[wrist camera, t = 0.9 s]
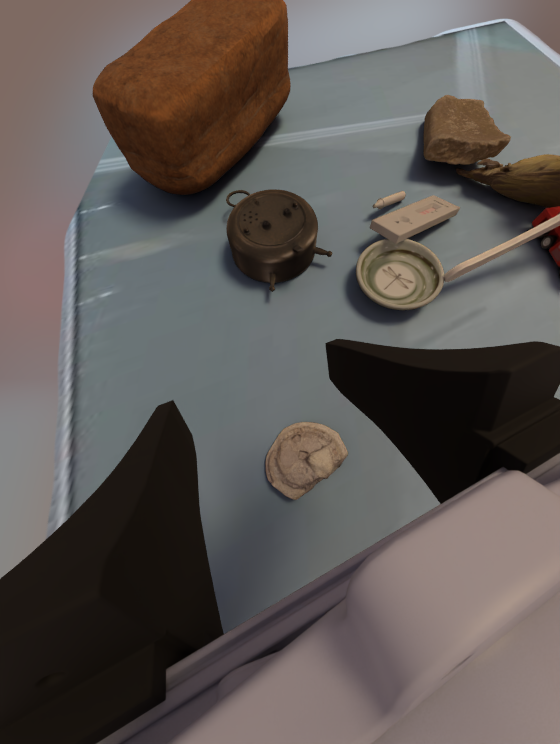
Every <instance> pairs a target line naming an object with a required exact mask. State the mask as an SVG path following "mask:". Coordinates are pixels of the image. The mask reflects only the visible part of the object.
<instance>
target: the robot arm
mask: <svg viewBox="0 0 560 744" xmlns="http://www.w3.org/2000/svg"><path fill="white" fill-rule="evenodd" d="M326 352H327V361H328V370H329V378H330V380H331V381H332V382H333V384H334V385H335V386H336V387H337V389H338V390H339V391H340V392H341V393H342V394H343V395H344V396H345V397H346V398H347V399H348V400H349V401H350V402H352V403H353V404H354V405H355V406H356V407H357V408H358V409H359V410H360V411H362V412H363V413H364V414H365V415H366V416H367V417H368V418H369V419H370V420H372V421H373V422H374V423H375V424H376V425H377V426H378V427H379V428H380V429H381V430H382V431H383V433H384V434H385V435H386V436H387V437H388V438H389V439H390V440H391V441H392V443H393V444H394V445H395V446H396V447H397V448H398V450H399V451H400V452H401V453H402V454H403V456H404V457H405V458H406V459H407V460H408V461H409V463H410V464H411V465H412V467H413V468H414V469H415V470H416V472H417V473H418V474H419V475H420V477H421V478H422V479H423V481H424V482H425V483H426V484H427V486H428V487H429V489H430V490H431V491H432V493H433V494H434V495H435V497H436V498H437V499H438V501H439V502H440V505H439V506H437V507H435V508H434V509H432V510H430V511H429V512H427V513H425V514H424V515H422V516H420V517H419V518H417V519H415V520H414V521H412V522H410V523H409V524H407V525H405V526H404V527H402V528H400V529H399V530H397V531H395V532H394V533H392V534H390V535H389V536H387V537H385V538H384V539H382V540H380V541H379V542H377V543H375V544H374V545H372V546H370V547H369V548H367V549H365V550H364V551H362V552H360V553H359V554H357V555H355V556H354V557H352V558H350V559H349V560H347V561H345V562H344V563H342V564H340V565H339V566H337V567H335V568H334V569H332V570H330V571H329V572H327V573H325V574H324V575H322V576H320V577H319V578H317V579H315V580H314V581H312V582H310V583H309V584H307V585H305V586H304V587H302V588H300V589H299V590H297V591H295V592H294V593H292V594H290V595H289V596H287V597H285V598H284V599H282V600H281V601H279V602H277V603H276V604H274V605H272V606H271V607H269V608H267V609H266V610H264V611H262V612H261V613H259V614H257V615H256V616H254V617H252V618H251V619H249V620H247V621H246V622H244V623H242V624H241V625H239V626H237V627H236V628H234V629H232V630H231V631H229V632H227V633H226V634H224V633H223V629H222V624H221V620H220V615H219V611H218V606H217V602H216V597H215V592H214V587H213V582H212V577H211V572H210V567H209V562H208V557H207V551H206V546H205V540H204V534H203V528H202V522H201V516H200V507H199V492H198V474H197V458H196V451H195V446H194V441H193V437H192V434H191V432H190V430H189V428H188V426H187V425H186V423H185V421H184V419H183V417H182V415H181V414H180V412H179V410H178V408H177V406H176V404H175V403H174V401H173V400H172V401H169V402H167V403H164V404H161V405H159V406H158V407H157V408H156V409H155V411H154V412H153V414H152V416H151V417H150V419H149V420H148V422H147V424H146V425H145V427H144V428H143V430H142V431H141V433H140V434H139V436H138V438H137V439H136V441H135V442H134V443H133V445H132V446H131V447H130V449H129V450H128V452H127V453H126V454H125V456H124V457H123V459H122V460H121V461H120V463H119V464H118V465H117V466H116V468H115V469H114V470H113V471H112V473H111V474H110V475H109V476H108V477H107V478H106V480H105V481H104V482H103V483H102V484H101V485H100V487H99V488H98V489H97V490H96V491H95V492H94V493H93V494H92V495H91V496H90V497H89V498H88V499H87V500H86V501H85V502H84V503H83V504H82V505H81V506H80V507H79V509H78V510H77V511H76V512H75V513H74V514H73V515H72V516H71V517H70V518H69V519H68V520H67V521H66V522H65V523H63V524H62V525H61V526H60V527H59V528H58V529H57V530H56V531H55V532H54V533H53V534H52V535H51V536H50V537H48V538H47V539H46V540H45V541H44V542H43V543H42V544H41V545H40V546H39V547H37V548H36V549H35V550H34V551H33V552H32V553H31V554H30V555H28V556H27V557H26V558H25V559H24V560H22V561H21V562H20V563H19V564H18V565H17V566H15V567H14V568H13V569H12V570H11V571H9V572H8V573H7V574H6V575H4V576H3V577H2V578H1V579H0V744H560V400H559V399H557V398H554V395H555V393H556V391H557V389H558V386H559V384H560V347H559V346H555V345H552V344H548V343H544V342H526V343H519V344H511V345H504V346H496V347H484V348H472V349H444V350H433V349H410V348H400V347H391V346H383V345H376V344H370V343H364V342H358V341H351V340H344V339H336V340H333V341H330V342H328V343H326Z"/></svg>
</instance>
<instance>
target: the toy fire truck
mask: <svg viewBox="0 0 560 744" xmlns="http://www.w3.org/2000/svg"><path fill="white" fill-rule="evenodd" d="M559 214H560V206H558V207H551V208H546V209H544V210H543V212H542V213H541V214H540V215H539V216H538V217H537V218H536V219H534V221H533V222H532V225H533V226H534V227H536V226H538V225H540V224H542V223H544V222H546V221H548V220H549V219H551V218H553V217H555V216H557V215H559ZM543 237H545V238H544V239H543V240H542V241H541V247H542V248H550V249H549V252H550V254H551V255H552V257H553V258H554V260H555V262H556V263H557V265H558V266H559V267H560V226H558V227H556V228H554V229H552V230H550V231H548V232H546V233H544V234H542V235H540V236H538V237H536V238H543ZM559 275H560V272H559Z"/></svg>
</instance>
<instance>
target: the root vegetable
mask: <svg viewBox="0 0 560 744" xmlns="http://www.w3.org/2000/svg"><path fill="white" fill-rule="evenodd" d="M477 165H486V166H485V167H483V168H478V169H475V170H470V171H466V170H463V169H460V168H457V169H456V171H457V173H458V174H459V175H462V176H464V177H466V178H470V179H473V180H475V181H478V182H480V183H483V184H486V185H489V186H491V187H492V188H493V189H494V190H496V191H497V192H498V193H500V194H502V195H504V196H506V197H509V198H511V199H514V200H517V201H521V202H526V203H531V204H536V205H540V206H544V207H549V208H551V207H558V206H560V156H556V155H540V156H536V157H532V158H528V159H523V160H520V161H518V162H517V163H515V164H512V165H511V163H508V165H507V166H506V165H505V167H503V164H499V162H497V161H492V160H490V159H483V160H482V161H481V162H478V163H477Z"/></svg>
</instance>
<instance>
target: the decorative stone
mask: <svg viewBox="0 0 560 744" xmlns="http://www.w3.org/2000/svg"><path fill="white" fill-rule="evenodd" d="M510 138H511V136H509V135H507V134H504V133H503V132H501V131H500V130H499V129H498V127H497V126H496V125H495V124H494V120H493V118H491V117H490V116H489V112H488V111H487V110H486V109H485V108H484V102H483V101H481V100H474V99H457V98H455V97H454V96H450V95H445V96H444V97H442V98H440V99H438V100H437V101H436V102H435V104H434V105H433V106H432V107H431V109H430V110H429V111H428V112H427V114H426V116H425V123H424V157H425V159H426V160H430V161H438V162H447V163H449V164H462V165H469V164H473V163H475V162H477V161H479V160H483V159H487V158H489V157H495V156H497V155H498V154H499V153H500V152H501V151H502V150H503V149H504V148H505V147H506V146H507V144H508V143H509V141H510Z"/></svg>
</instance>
